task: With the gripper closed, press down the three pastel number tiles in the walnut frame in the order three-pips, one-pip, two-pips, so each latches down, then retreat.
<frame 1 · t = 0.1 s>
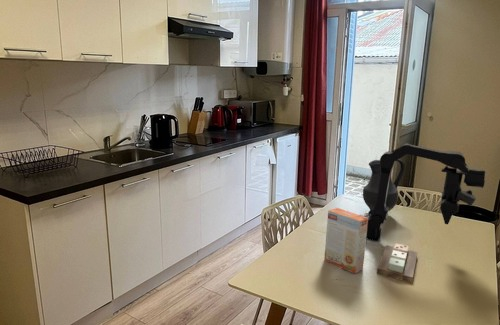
hand: (446, 220, 148), 15 cm above the table, fingers open, 9 cm apart
cracker box: (343, 264, 140), on the table
frame board: (397, 264, 141), on the table
tile one: (396, 265, 134), point 3 cm above the table, slide at 0.0 cm
tile three: (400, 249, 146), point 3 cm above the table, slide at 0.0 cm
tile two: (398, 257, 140), point 3 cm above the table, slide at 0.0 cm
pitcher: (381, 214, 193), on the table
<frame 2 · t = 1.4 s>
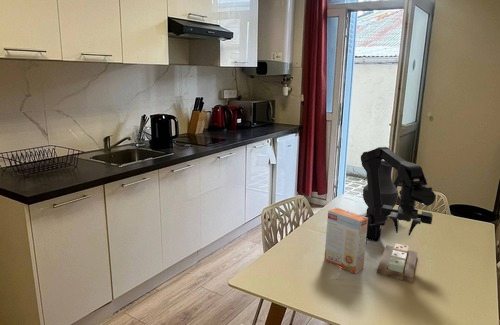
hand: (403, 234, 144), 10 cm above the table, fingers open, 4 cm apart
nothing on the table moved.
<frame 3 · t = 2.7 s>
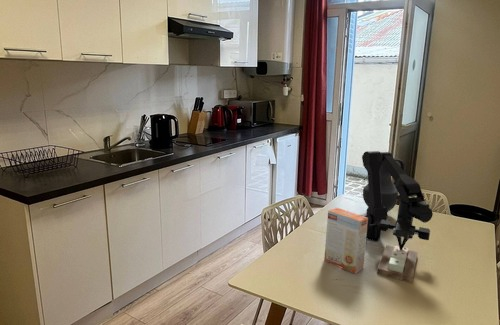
hand: (400, 249, 146), 3 cm above the table, fingers closed, pressing on tile three
tile three: (400, 252, 146), point 2 cm above the table, slide at 1.0 cm, touching gripper
everything else where it was.
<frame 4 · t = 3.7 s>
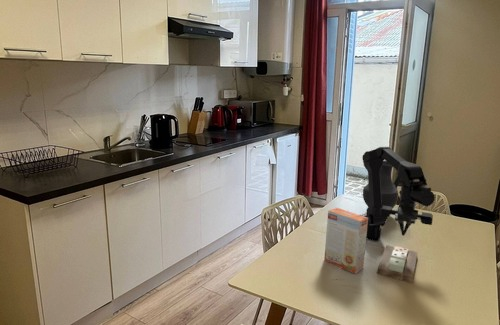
hand: (403, 235, 143), 10 cm above the table, fingers closed
tile three: (400, 252, 146), point 2 cm above the table, slide at 1.2 cm
everything else where it was.
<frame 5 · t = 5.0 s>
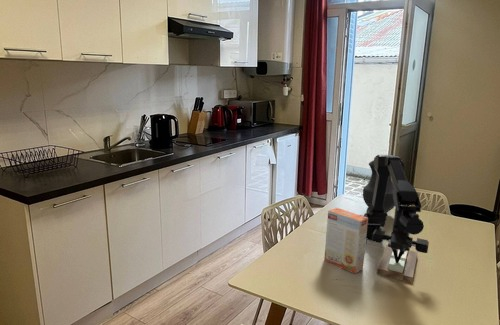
hand: (396, 262, 134), 4 cm above the table, fingers closed, pressing on tile one
tile one: (396, 265, 134), point 3 cm above the table, slide at 0.2 cm, touching gripper
everything else where it was.
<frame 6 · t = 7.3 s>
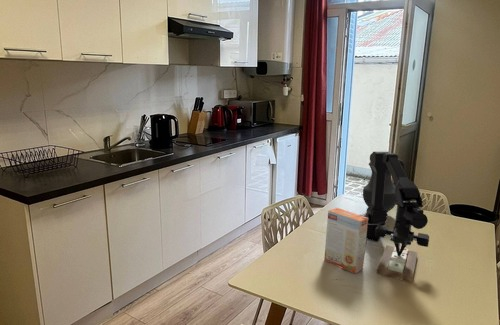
hand: (398, 255, 140), 4 cm above the table, fingers closed, pressing on tile two
tile one: (396, 268, 134), point 2 cm above the table, slide at 1.2 cm
tile two: (398, 258, 140), point 2 cm above the table, slide at 0.7 cm, touching gripper
everything else where it was.
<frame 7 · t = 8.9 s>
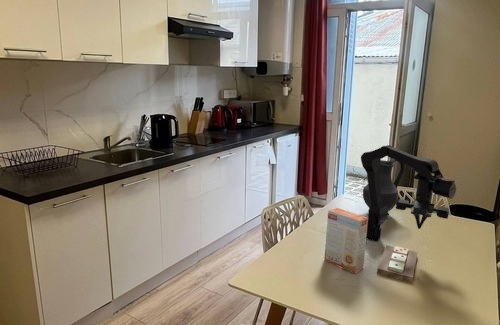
hand: (419, 228, 146), 12 cm above the table, fingers closed
tile two: (398, 259, 140), point 2 cm above the table, slide at 1.1 cm
everything else where it was.
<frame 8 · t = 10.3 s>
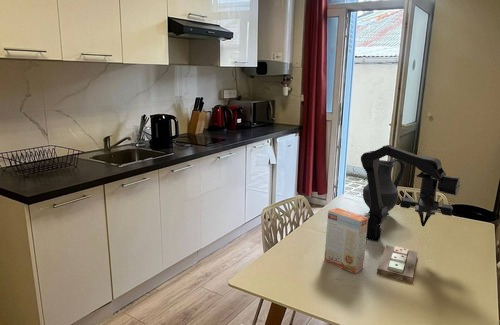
hand: (422, 226, 148), 12 cm above the table, fingers closed
nothing on the table moved.
at the end: tile three slide at 1.2 cm; tile one slide at 1.2 cm; tile two slide at 1.1 cm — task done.
